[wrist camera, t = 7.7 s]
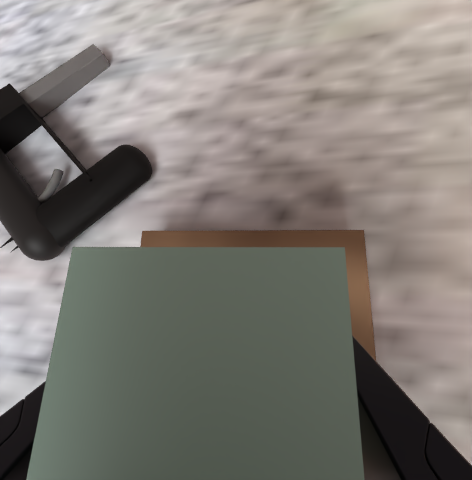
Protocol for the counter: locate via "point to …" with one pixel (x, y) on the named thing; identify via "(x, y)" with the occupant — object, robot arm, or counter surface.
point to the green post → (201, 367)
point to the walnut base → (293, 238)
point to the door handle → (75, 193)
